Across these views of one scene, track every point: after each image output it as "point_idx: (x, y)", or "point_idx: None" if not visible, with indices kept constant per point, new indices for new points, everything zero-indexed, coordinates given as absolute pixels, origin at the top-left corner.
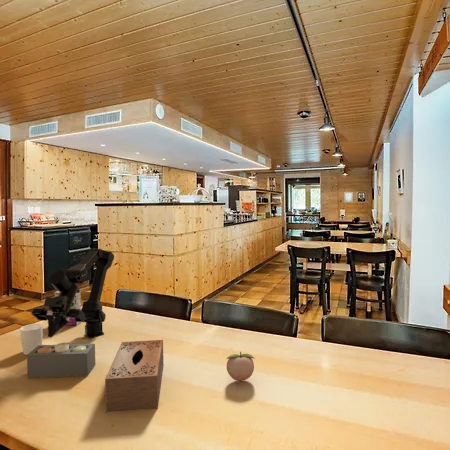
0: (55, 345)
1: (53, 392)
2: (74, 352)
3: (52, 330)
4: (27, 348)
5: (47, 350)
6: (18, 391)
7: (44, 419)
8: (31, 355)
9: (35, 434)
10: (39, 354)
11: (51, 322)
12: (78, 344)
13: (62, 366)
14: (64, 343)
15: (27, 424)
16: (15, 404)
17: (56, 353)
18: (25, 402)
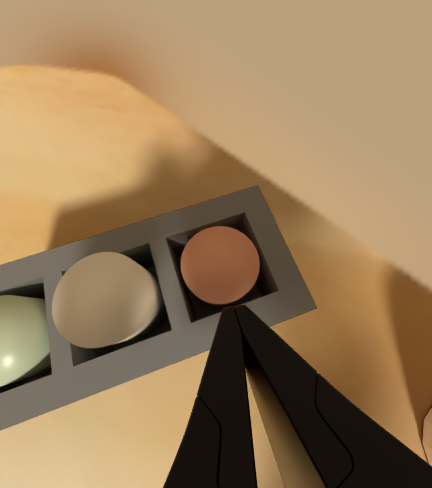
0: (142, 277)
1: (98, 190)
2: (6, 279)
3: (218, 349)
4: None
5: (188, 252)
6: (203, 170)
7: (52, 110)
8: (234, 193)
9: (42, 79)
10: (197, 206)
11: (325, 467)
12: (37, 407)
13: None
14: (96, 326)
15: (79, 93)
16: (161, 130)
17: (110, 239)
18: (142, 141)
